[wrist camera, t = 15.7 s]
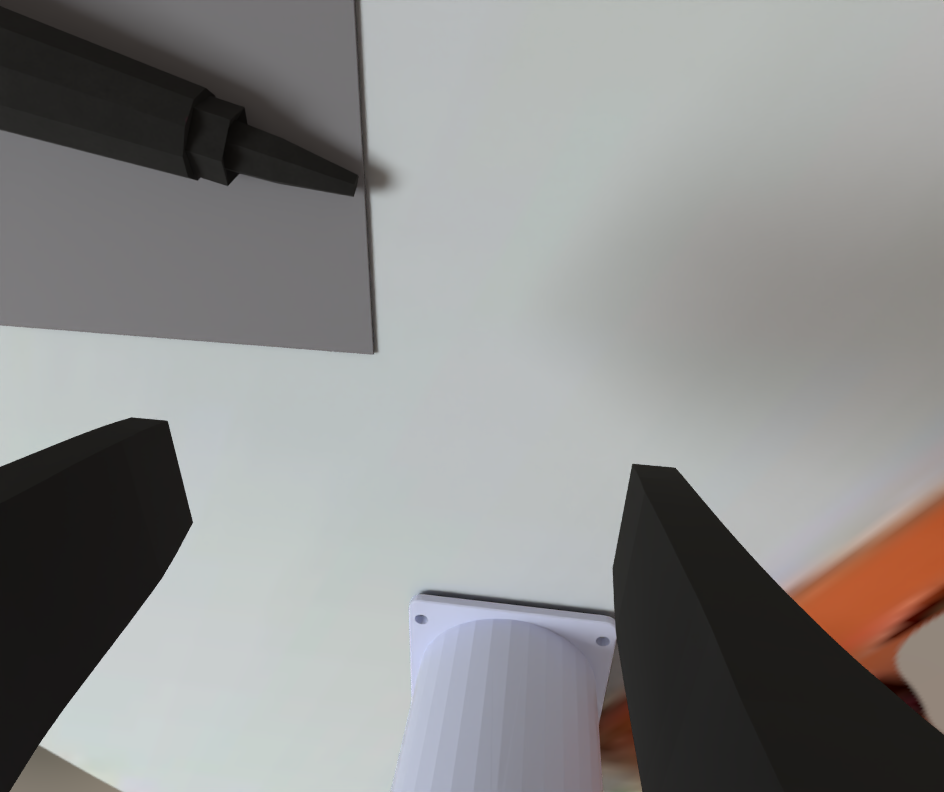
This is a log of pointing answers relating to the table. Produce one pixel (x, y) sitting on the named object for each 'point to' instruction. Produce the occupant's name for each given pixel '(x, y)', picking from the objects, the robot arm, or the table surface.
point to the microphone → (140, 113)
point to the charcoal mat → (199, 190)
